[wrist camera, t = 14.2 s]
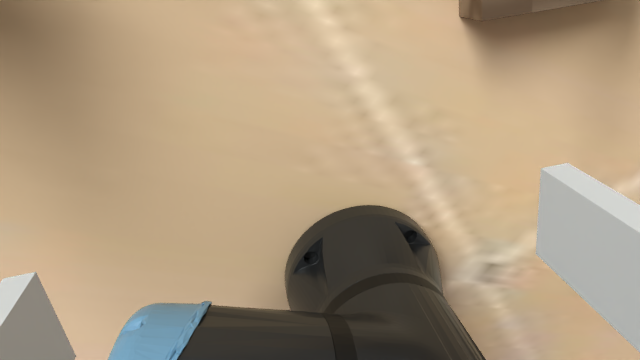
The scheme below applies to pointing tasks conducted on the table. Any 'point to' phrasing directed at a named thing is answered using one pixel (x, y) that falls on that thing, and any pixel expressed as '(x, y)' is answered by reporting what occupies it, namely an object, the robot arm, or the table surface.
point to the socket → (509, 7)
